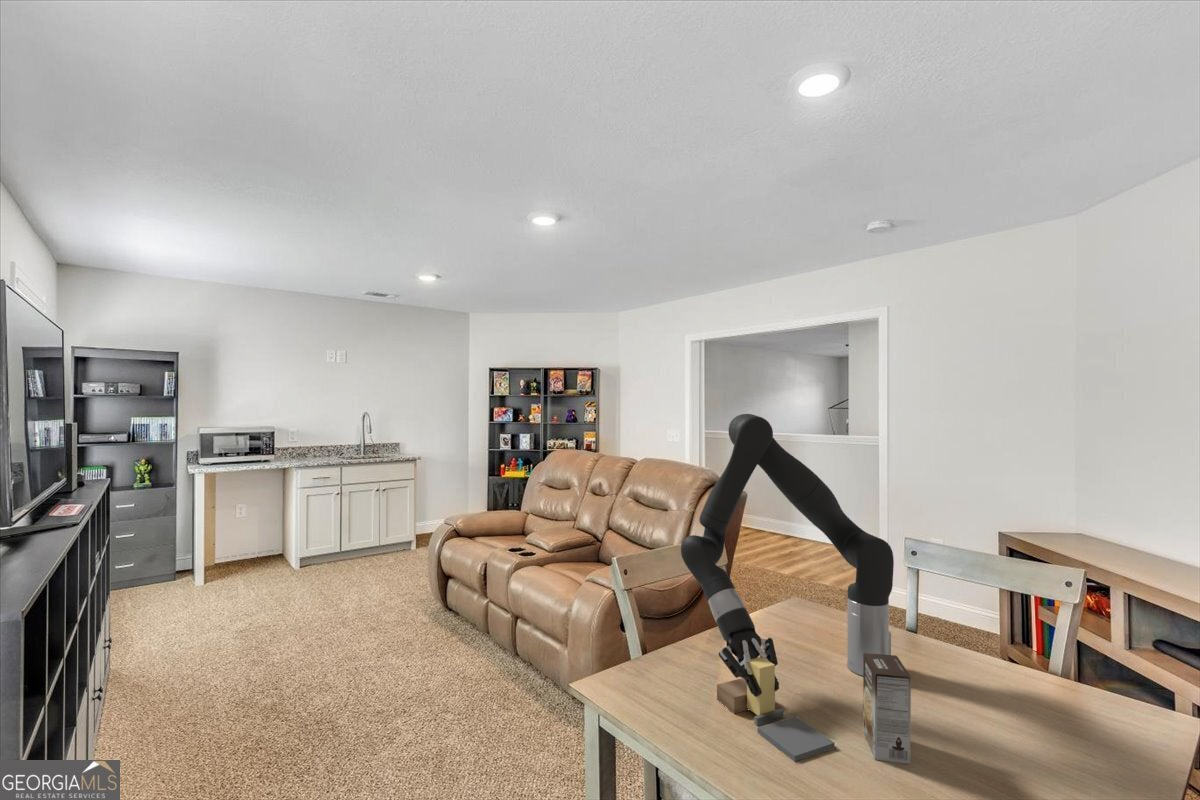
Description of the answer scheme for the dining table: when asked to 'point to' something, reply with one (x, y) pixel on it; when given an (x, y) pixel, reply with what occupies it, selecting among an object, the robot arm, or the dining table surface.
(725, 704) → the block
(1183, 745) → the dining table surface
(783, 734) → the mat
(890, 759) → the coffee box
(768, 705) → the pale yellow rectangular prism
